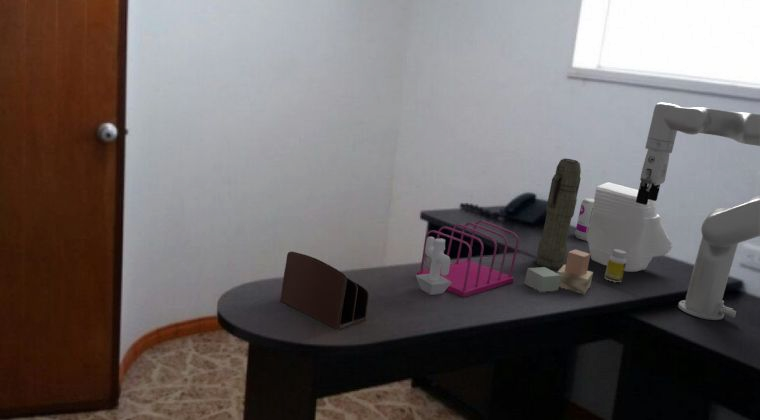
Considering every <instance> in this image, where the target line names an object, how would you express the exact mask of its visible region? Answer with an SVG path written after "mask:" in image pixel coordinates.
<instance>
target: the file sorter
mask: <svg viewBox="0 0 760 420" xmlns="http://www.w3.org/2000/svg"><path fill="white" fill-rule="evenodd" d="M480 223H483V224H485V225H488V226H491V227H494V228H497V229H499V230H502V231H505V232H507V233H510V234H512V235H513V236H514V238H515V241H516V242H515V248H514V251H513V256H512V260H511V265H510V270H509V275H508V274H507V273H505V272H503V269H504V264H505V259H506V255H507V250H508V245H509V244H508V239H507V238H506V236H505V235H504V234H502V233H500V232H497V231H495V230H492V229H489V228H487V227H485V226H481V225H479V224H480ZM468 225H469V226H468ZM470 225H471V226H473V227H472V228H471V227H470ZM457 227H461V228H462V230H458V229H456V228H457ZM477 228H479V229H482V230H485V231H487V232H489V233H492V234H495V235H497V236H499V237H502V238H503V241H504V244H505V245H504V250H503V254H502V259H501V264H500V269H499V270H495V269H494V263H495V259H496V254H497V249H498V243H497V240H495V238H494V237H492V236H491V235H488V234H487V233H483V232H481V231H479V230H477ZM444 229H445V230H448V231H451V234H450V235H449V234H445V233H443V232H441V231H442V230H444ZM466 230H469V231H471V232H472V234H469V233H466V232H465V231H466ZM455 232H456V233H458V234H461V235H460V238H457V237H455V236H454V234H455ZM431 233H435V234H437V235H436V239H440V236H443V237H446V238H449V242H448V247H447V252H446V255H447V256H449V257H450V252H451V247H452V243H453V240H455V241H457V242H459V245H458V251H457V256H456V262H452V263H450V268H449V273H448V275H446V276H444V275H441V270H440V276H442V277H444V278H445V279H447V280H449V281H451V282H452V283H451V284H450V286H449V287H448V288H447V289H446V290H445V291H449V292H450V293H452V294H454V295H455V294H456V295H457V296H460V297H463V298H466V297H470V296H472V295H476V294H479V293H483V292H486V291H488V290H492V289H495V288H498V287H502V286H505V285H509V284H511V283H512V284H513V283H514V280H515V277H513V276H512V273H513V270H514V266H515V262H516V256H517V252H518V247H519V237H518V235H517V234H516V233H515V232H514V231H512V230H509V229H506V228H504V227H501V226H499V225H496V224H493V223H490V222H489V221H485V220H478V221H476V222H475V223H473V222H467V223H465V224H462V223H459V224H458V223H457V224H455V225H454V226H453V228H452V227H449V226H441V227H440V228H439V229H438V230H432V229H431V230H428V232H426V234H425V237H424V244H423V250H422V258H421V265H420V271H417V272H416V274H415V275H422V274H429V273H430V268H428V269H423V268H424V262H425V258H426V257H425V256H426V254H425V248H426V241H427V238H428V237H429V236H430V234H431ZM475 234H478V235H481V236H483V237H486V238H488V239H490V240H491V241H492V242H493V244H494V249H493V255H492V258H491V264H490V267H488V266H485V265H482V263H483V255H484V251H485V250H484V248H485V247H484V243H483V241H482V239H481V238H480V237H477V236H475ZM464 236H466V237H469V238H471V239H470V242H467V241H465V240H463V239H464ZM474 240H477V241H478V242H479V243H480V255H479V261H478V263H477V262H475V261H472V254H473V250H472V248H473V245H474V244H473V243H474ZM469 243H470V244H469ZM463 244H465V245H466V246H467V247H468V254H467V259H464V260H461V261H460V256H461V255H460V254H461V250H462V245H463Z"/></svg>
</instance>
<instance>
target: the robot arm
mask: <svg viewBox="0 0 760 420" xmlns="http://www.w3.org/2000/svg"><path fill="white" fill-rule="evenodd" d="M652 113H653V114H652V117H651V122H650V125H649V130H648V134H647V135H648V136H647V139H646V143H645V146H644V148H645V150H647V151H646V155H645V158H644V161H643V165H642V169H641V173H640V179H639V180H640V182H639V187H638V189H637V190H638V194H637V199H636V202H637V203H640V204H644V205H646V204H647V202H648V199H649V200H653V201H654V202H656V201H657V200H658V196H659V192H660V187H661V184H664V183H665V181H666V178H667V177H666V176H667V171H668V165H669V161H670V154H672V153H673V149H674V145H675V140H676V137H677V133H678V132H681V133H683V134H687V135H691V136H692V135H697V134H704V135H709V136H710V135H712V136H717V137H723V138H728V139H730V140H733V141H736V142H737V143H741V144H744V145H750V146H759V147H760V113H751V112H738V111H729V110H722V109H716V108H710V107H709V108H707V107H701V106H694V107H681V106H679V105H677V104H674V103H673V104H672V103H668V102H658V103H656V104H655V105H654V109H653V112H652ZM702 222H703V223H702V225H701V230H700V232H701V241H700V244H699V247H698V251H697V255H696V258H695V263H694V265H693V270H692V273H691V277H690V281H689V284H688V289H687V292H686V295H685V299H683V300H680V301H679V302H678V305H677V307H678V308H679V310H681V311H683V312H684V313H686V314H688V315H691V316H693V317H697V318H700V319H703V320H710V321H719V320H722V319H723V318H724V317H725V315H726V316H729V317H731V318H735V317H736V313H737V310H734V308H732V307H728V306H726V305H724V303H725V300H723V298H724V294H725V291H726V287H727V283H728V280H729V276H730V273H731V268H732V265H733V262H734V259H735V255H736V251H737V248H738V245H739V243H742V242H747V241H748V240H752V239H755V238H757V237H760V195H757V196H754V197H752V198H750V199H749V200H748V201H747V202H745V203H742V204H739V205H736V206H733V207H732V208H731V207H730V208H729V207H720V208H719V207H718V208H716V209H714V210H713V211H711V212H710V213H709V214H708V215H707V217H706V218H705V219H704V221H702Z"/></svg>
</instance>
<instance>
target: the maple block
mask: <svg viewBox="0 0 760 420" xmlns="http://www.w3.org/2000/svg"><path fill="white" fill-rule="evenodd" d="M565 267H566V264H562V267H561V268H560V269H558V271H557V272H556V273H557V274H559V275H561V279H560V283H559V287H561V288H560V289H563V288H565V289H564V290H567V289H570V290H574V291H579V292H582V293H585V292H586V291H588V290H589V289H590V287H591V285H592V280H593V279H592V278H593V275H594V271H591V270H587V273H585V274H583V275H581V276H579V275H576V274H573V273H570V272H567V271H565ZM588 288H589V289H588ZM587 289H588V290H587ZM570 290H569V291H570ZM574 291H573V292H574ZM585 294H586V293H585Z"/></svg>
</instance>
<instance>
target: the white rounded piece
mask: <svg viewBox="0 0 760 420" xmlns="http://www.w3.org/2000/svg"><path fill="white" fill-rule="evenodd" d="M638 190H639V189H636V188H632V187H629V186H626V185H625V186H624V185H620V184H616V183H614V182H610V181H608V182H604V183H602V184H599V185H597V186H596V189H595V194H594V197H593V199H594V210H593V211H594V212H593V214H592V217H591V221H590V225H589V230H588V234H587V241H586V242H588V243H587V244H588V249H589V254H591V255H590V259H591V260H592V261H593V262H597V263H598V264H601V265H603V266H606V267H607V264H608V260H609V257H610V256H612V255H613V254H612V253H613V250H614V249H619V250H623V251H625V252H626V256H625V257H624V258H625V259H626V265H625V269H624V272H628V273H629V272H631V273H633V272H634V273H635V272H639V271H643V270H646V269H647V268H648V265H649V264H650V263H651V261H652V259H653V258H657V257H662V256H665V255H667V254H669V252H671V250H672V248H673V243H672V240H671V239H670V237H668V234H667V233H666V231H665V227H664V226H663V223H662V221H661V217H660V214H658V213H657V210H656V206H655V205H656V204H655V201H653V200H649V199H648V202H647V204H646V205H644V204H640V203H637V202H636V199H637V194H638Z"/></svg>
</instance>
